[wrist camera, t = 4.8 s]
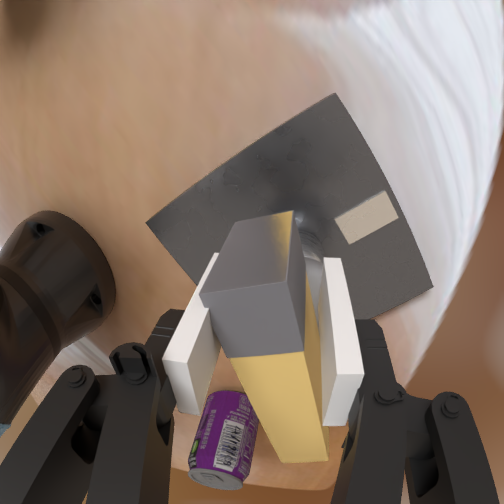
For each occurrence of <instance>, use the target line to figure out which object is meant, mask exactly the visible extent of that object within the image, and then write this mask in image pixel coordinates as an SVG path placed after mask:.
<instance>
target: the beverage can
mask: <svg viewBox="0 0 504 504" xmlns="http://www.w3.org/2000/svg"><path fill="white" fill-rule="evenodd" d="M258 424H259V419H258V417H257V415H256V413H255V411H254V409H253V407H252V405H251V403H250V401H249V399H248V397H247V395H245V394H243V393H239V392H235V391H217V392H214V393H212V394H210V395H209V396H208V398H207V401H206V404H205V407H204V410H203V414H202V417H201V420H200V423H199V426H198V430H197V433H196V436H195V439H194V442H193V445H192V449H191V452H190V455H189V458H188V464H189V468H190V470H189V472H188V476H189V477H190V478H191V479H192V480H194V481H195V482H197V483H200V484H202V485H205V486H208V487H212V488H216V489H222V490H237V489H240V488H242V486H243V481H244V480H245V479H246V478H247V477H248V475H249V473H250V468H251V462H252V457H253V451H254V446H255V440H256V435H257V429H258Z"/></svg>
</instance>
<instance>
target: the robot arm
mask: <svg viewBox="0 0 504 504" xmlns="http://www.w3.org/2000/svg"><path fill="white" fill-rule="evenodd" d="M218 255H219V253H214V255H213V257H212V259H211V261H210V263H209V264H208V266H207V268H206V270H205V272H204V274H203V276H202V278H201V280H200V282H199V284H198V286H197V288H196V290H195V292H194V294H193V296H192V298H191V300H190V302H189V304H188V306H187V308H186V310H176V309H170V310H168V311H167V312H166V313H165V314H163V315H162V316H161V317H160V319H159V321H158V323H157V324H156V328H154V330H153V331H152V334H151V335H150V337H149V338H148V340H147V342H146V344H145V345H143V344H140V343H134V342H133V343H126V344H123V345H121V346H118V347H117V348H116V349H114V350H113V351H112V353H111V354H110V356H109V359H110V361H111V363H112V365H113V368H114V370H115V372H116V374H114V375H96V376H95V374H94V372H93V371H92V369H91V368H89V367H87V366H84V365H76V366H72V367H70V368H68V369H67V370H66V371H65V372H64V373H62V375H61V376H60V377H59V379H58V380H57V381H56V383H55V384H54V386H53V387H52V388H51V390H50V391H49V393H48V394H47V395H46V397H45V398H44V400H43V401H42V402H41V404H40V405H39V407H38V408H37V410H36V411H35V413H34V414H33V416H32V417H31V418H30V420H29V421H28V423H27V424H26V426H25V427H24V429H23V430H22V432H21V433H20V435H19V436H18V438H17V440H16V441H15V443H14V444H13V446H12V448H11V449H10V451H9V452H8V454H7V455H6V457H5V459H4V460H3V462H2V463H1V465H0V504H82V502H83V500H84V498H85V496H86V494H87V492H88V495H87V500H86V504H168V498H169V482H170V468H171V455H172V444H173V433H174V417H173V414H172V413H173V411H174V408H175V405H177V408H178V410H179V412H182V413H187V414H193V415H199V416H200V415H201V412H202V409H203V405H204V402H205V399H206V395H207V392H208V389H209V385H210V382H211V379H212V375H213V372H214V369H215V365H216V362H217V359H218V355H219V352H220V349H221V344H220V342H219V340H218V337H217V335H216V333H215V331H214V328H213V326H212V324H211V321H210V314H209V308H204V306H203V304H202V301H201V299H200V297H199V292H200V290H201V288H202V286H203V284H204V282H205V280H206V278H207V276H208V274H209V272H210V270H211V268H212V266H213V264H214V262H215V261H216V259H217V257H218ZM114 302H115V285H114V280H113V276H112V273H111V270H110V267H109V265H108V263H107V261H106V259H105V257H104V255H103V253H102V251H101V250H100V248H99V247H98V245H97V244H96V243H95V241H94V240H93V239H92V237H91V236H90V235H89V234H88V233H87V232H86V231H85V230H84V229H83V228H82V227H81V226H80V225H79V224H77V223H76V222H75V221H73V220H72V219H70V218H69V217H67V216H65V215H63V214H60V213H58V212H54V211H41V212H37V213H35V214H34V215H32V216H30V217H29V218H27V219H26V220H24V221H23V222H21V223H20V224H19V225H18V226H17V227H16V229H15V230H14V232H13V233H12V234H11V236H10V237H9V239H8V240H7V242H6V243H5V245H4V246H3V248H2V249H1V251H0V437H1V435H2V434H3V433H4V432H5V431H6V429H8V428H9V427H10V426H11V422H12V420H13V419H14V417H15V416H16V414H17V413H18V411H19V409H20V408H21V406H22V405H23V403H24V402H25V400H26V399H27V397H28V396H29V394H30V393H31V391H32V390H33V389H34V387H35V386H36V384H37V383H38V381H39V380H40V378H41V377H42V376H43V374H44V373H45V371H46V370H47V369H48V367H49V366H50V365H51V363H52V362H53V360H54V359H55V358H56V356H57V355H58V354H59V353H60V351H61V350H62V349H63V348H65V347H67V346H68V345H70V344H72V343H74V342H75V341H77V340H79V339H80V338H82V337H84V336H86V335H87V334H89V333H91V332H92V331H94V330H96V329H97V328H98V327H99V326H100V325H101V324H102V323H103V322H104V320H105V319H106V318H107V316H108V315H109V314H110V312H111V311H112V309H113V306H114ZM318 315H319V332H320V351H321V377H322V426H345V425H346V422H347V420H348V422H349V432H348V434H347V436H346V438H345V440H344V443H343V445H342V447H341V448H344V449H343V454H342V459H341V463H340V468H339V472H338V476H337V480H336V484H335V489H334V492H333V496H332V500H331V504H401V496H402V488H403V479H404V469H405V474H406V480H407V486H408V493H409V500H410V504H499V500H498V495H497V492H496V487H495V484H494V480H493V476H492V473H491V469H490V466H489V463H488V460H487V456H486V453H485V450H484V447H483V444H482V442H481V438H480V435H479V432H478V429H477V427H476V424H475V421H474V419H473V416H472V413H471V411H470V408H469V406H468V404H467V402H466V401H465V399H464V398H463V397H461V396H460V395H459V394H456V393H454V392H443V393H440V394H438V395H437V396H436V397H435V398H434V399H433V400H428V399H422V398H417V397H414V396H411V395H409V394H407V393H406V391H405V389H404V388H403V387H402V385H400V384H398V383H397V382H396V379H395V375H394V371H393V367H392V363H391V359H390V356H389V352H388V349H387V344H386V341H385V337H384V334H383V330H382V328H381V327H380V326H379V325H378V323H377V322H376V321H375V320H372V319H354V315H353V310H352V306H351V301H350V296H349V292H348V287H347V283H346V279H345V274H344V270H343V266H342V262H341V258H327V257H324V258H323V268H322V278H321V287H320V296H319V304H318Z"/></svg>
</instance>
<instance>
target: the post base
mask: <svg viewBox="0 0 504 504" xmlns="http://www.w3.org/2000/svg"><path fill="white" fill-rule="evenodd" d="M287 211H294V215H295V219H296V223H297V228H298V232H299V236H300V241H301V245H302V250H303V254H304V257H308V258H312V259H314V260H317V261H319V262H321V263H323V258H324V257H327V258H341V262H342V266H343V270H344V274H345V279H346V283H347V287H348V292H349V296H350V301H351V306H352V310H353V315H354V319H371V318H373V317H375V316H377V315H379V314H381V313H383V312H386V311H388V310H390V309H392V308H394V307H396V306H398V305H400V304H402V303H404V302H406V301H408V300H410V299H412V298H413V297H415V296H417V295H419V294H421V293H423V292H425V291H427V290H429V289H431V288H432V287H433V284H432V282H431V279H430V276H429V273H428V271H427V268H426V266H425V263H424V261H423V258H422V256H421V253H420V251H419V248H418V246H417V243H416V241H415V239H414V236H413V234H412V232H411V229H410V227H409V225H408V223H407V221H406V218H405V216H404V214H403V212H402V210H401V208H400V205H399V203H398V201H397V199H396V197H395V195H394V193H393V191H392V189H391V187H390V185H389V183H388V181H387V179H386V177H385V175H384V174H383V172H382V170H381V168H380V166H379V164H378V162H377V160H376V159H375V157H374V155H373V153H372V151H371V150H370V148H369V146H368V144H367V143H366V141H365V139H364V138H363V136H362V134H361V132H360V131H359V129H358V127H357V126H356V124H355V123H354V121H353V119H352V118H351V116H350V114H349V113H348V111H347V110H346V108H345V107H344V105H343V104H342V102H341V100H340V99H339V97H338V96H337V94H336V93H333V94H331V95H329V96H327V97H326V98H324V99H322V100H321V101H319V102H317V103H316V104H314V105H312V106H311V107H309V108H307V109H306V110H304V111H302V112H301V113H299V114H297V115H296V116H294V117H293V118H291V119H289V120H288V121H286V122H285V123H283V124H281V125H280V126H278V127H277V128H275V129H274V130H272V131H270V132H269V133H267V134H266V135H264V136H263V137H261V138H260V139H258V140H257V141H255V142H254V143H252V144H251V145H249V146H248V147H246V148H245V149H243V150H242V151H240V152H239V153H238V154H236V155H235V156H233V157H232V158H230V159H229V160H227V161H226V162H225V163H223V164H222V165H220V166H219V167H218V168H216V169H215V170H213V171H212V172H211V173H209V174H208V175H206V176H205V177H204V178H202V179H201V180H200V181H198V182H197V183H195V184H194V185H193V186H191V187H190V188H189V189H187V190H186V191H185V192H183V193H182V194H181V195H179V196H178V197H177V198H175V199H174V200H173V201H172V202H170V203H169V204H168V205H166V206H165V207H164V208H163V209H161V210H160V211H159V212H157V213H156V214H155V215H154V216H152V217H151V218H150V219H149V220H148V221H147V222H146V224H147V225H148V227H149V228H150V229H151V230H152V232H153V233H154V234H155V235H156V237H157V238H158V239H159V240H160V242H161V243H162V244H163V245H164V247H165V248H166V249H167V250H168V252H169V253H170V254H171V255H172V256H173V258H174V259H175V260H176V261H177V263H178V264H179V265H180V266H181V267H182V269H183V270H184V271H185V272H186V273H187V274H188V276H189V277H190V278H191V279H192V280H193V282H194V283H195V284H196V285H197V286H198V284H199V282H200V280H201V278H202V276H203V274H204V272H205V270H206V268H207V266H208V264H209V263H210V261H211V259H212V257H213V255H214V253H220V251H221V249H222V247H223V245H224V243H225V241H226V239H227V237H228V235H229V233H230V231H231V229H232V227H233V225H234V224H235V222H238V221H243V220H248V219H253V218H257V217H262V216H267V215H272V214H277V213H282V212H287Z"/></svg>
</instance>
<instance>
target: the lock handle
mask: <svg viewBox="0 0 504 504" xmlns="http://www.w3.org/2000/svg"><path fill="white" fill-rule="evenodd" d="M322 268H323V263H321V262H319V261H317V260H314V259H312V258H308V257H304V254H303V250H302V245H301V241H300V236H299V232H298V228H297V223H296V219H295V215H294V211H287V212H282V213H277V214H272V215H267V216H262V217H257V218H253V219H248V220H243V221H238V222H235V224H234V225H233V227H232V229H231V231H230V233H229V235H228V237H227V239H226V241H225V243H224V245H223V247H222V249H221V251H220V253H219V255H218V257H217V259H216V261H215V262H214V264H213V266H212V268H211V270H210V272H209V274H208V276H207V278H206V280H205V282H204V284H203V286H202V288H201V290H200V292H199V297H200V299H201V301H202V304H203V306H204V308H209V314H210V321H211V324H212V326H213V328H214V331H215V333H216V335H217V337H218V340H219V342H220V344H221V346H222V348H223V350H224V353H225V355H226V357H227V358H229V359H230V361H231V363H232V365H233V368H234V370H235V372H236V374H237V376H238V378H239V380H240V382H241V384H242V386H243V388H244V391H245V393H246V395H247V397H248V399H249V401H250V403H251V405H252V407H253V409H254V411H255V413H256V415H257V417H258V419H259V421H260V423H261V425H262V426H263V428H264V430H265V432H266V434H267V436H268V438H269V440H270V442H271V444H272V446H273V448H274V449H275V451H276V453H277V455H278V457H279V459H280V461H281V462H282V463H301V462H318V461H328V459H329V426H322V377H321V351H320V332H319V315H318V304H319V296H320V287H321V278H322Z"/></svg>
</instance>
